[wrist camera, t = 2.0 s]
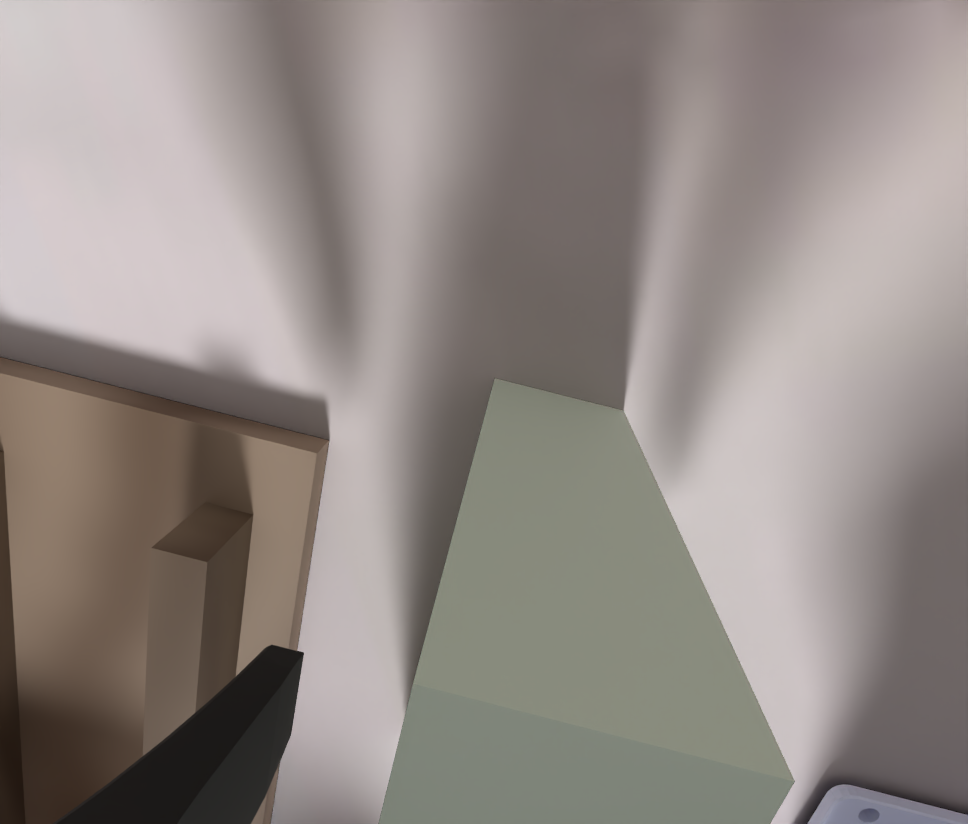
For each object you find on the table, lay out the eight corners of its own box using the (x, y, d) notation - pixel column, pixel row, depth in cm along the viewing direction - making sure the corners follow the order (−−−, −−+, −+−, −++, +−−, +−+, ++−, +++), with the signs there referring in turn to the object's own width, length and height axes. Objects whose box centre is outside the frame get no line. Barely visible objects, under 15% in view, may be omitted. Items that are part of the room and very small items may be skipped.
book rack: (328, 440, 14) (143, 636, 7) (257, 908, 20) (120, 1246, 13) (-71, 339, 14) (-610, 443, 7) (-22, 836, 20) (-294, 1135, 13)
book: (623, 410, 13) (794, 781, 4) (505, 756, 16) (473, 1330, 8) (494, 378, 13) (412, 683, 4) (406, 731, 16) (266, 1275, 8)
